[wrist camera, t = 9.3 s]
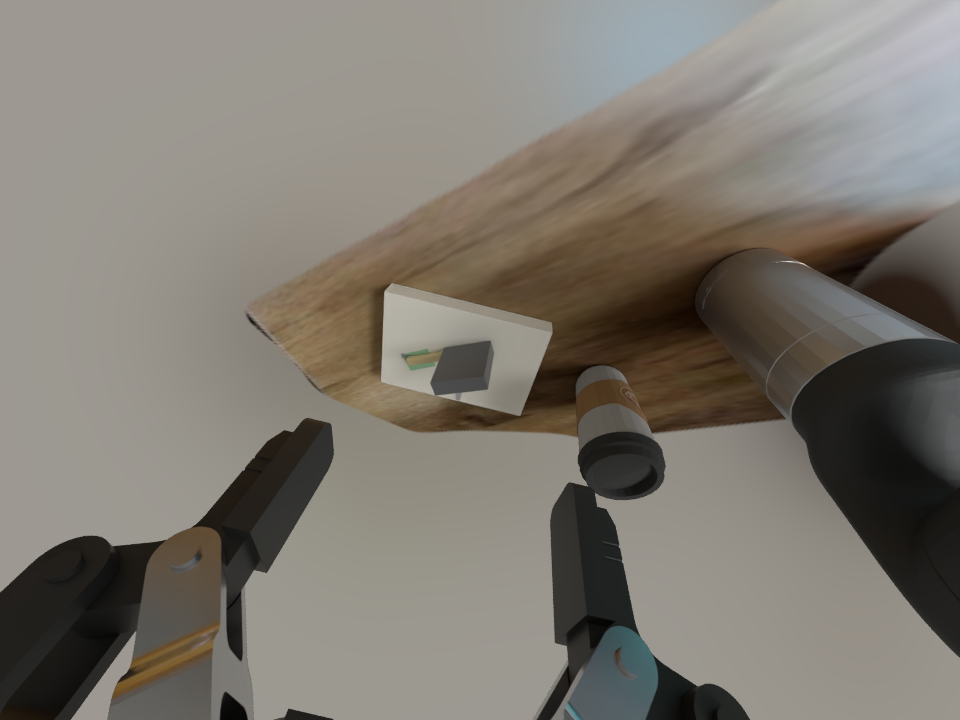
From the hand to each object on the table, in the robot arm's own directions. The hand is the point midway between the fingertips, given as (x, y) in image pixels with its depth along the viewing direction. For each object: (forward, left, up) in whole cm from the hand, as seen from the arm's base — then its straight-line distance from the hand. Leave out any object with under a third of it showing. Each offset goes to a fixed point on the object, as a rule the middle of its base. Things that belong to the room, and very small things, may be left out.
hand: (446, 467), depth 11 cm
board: (+2, +16, -30) cm, 34 cm away
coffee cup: (-17, +16, -30) cm, 38 cm away
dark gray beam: (+3, +15, -27) cm, 31 cm away
